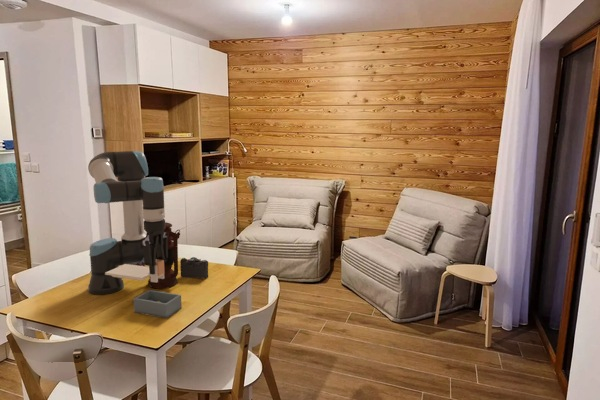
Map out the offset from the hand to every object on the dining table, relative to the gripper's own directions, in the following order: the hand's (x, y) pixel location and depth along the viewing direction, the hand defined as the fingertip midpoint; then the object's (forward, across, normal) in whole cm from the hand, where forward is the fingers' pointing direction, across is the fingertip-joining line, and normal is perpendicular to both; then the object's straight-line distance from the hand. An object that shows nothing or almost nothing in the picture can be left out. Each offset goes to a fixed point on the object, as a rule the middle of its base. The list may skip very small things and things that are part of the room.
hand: (157, 279), depth 153 cm
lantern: (+18, +37, +26) cm, 49 cm away
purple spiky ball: (+19, +51, +52) cm, 75 cm away
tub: (+19, +12, +9) cm, 24 cm away
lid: (0, 0, +9) cm, 9 cm away
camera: (+19, +54, +17) cm, 59 cm away
